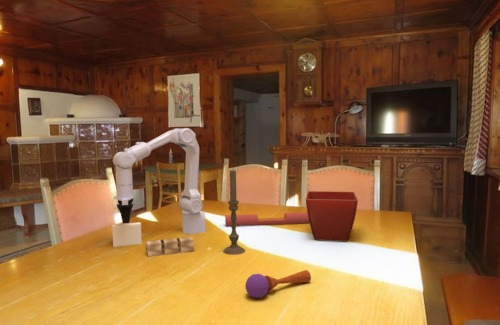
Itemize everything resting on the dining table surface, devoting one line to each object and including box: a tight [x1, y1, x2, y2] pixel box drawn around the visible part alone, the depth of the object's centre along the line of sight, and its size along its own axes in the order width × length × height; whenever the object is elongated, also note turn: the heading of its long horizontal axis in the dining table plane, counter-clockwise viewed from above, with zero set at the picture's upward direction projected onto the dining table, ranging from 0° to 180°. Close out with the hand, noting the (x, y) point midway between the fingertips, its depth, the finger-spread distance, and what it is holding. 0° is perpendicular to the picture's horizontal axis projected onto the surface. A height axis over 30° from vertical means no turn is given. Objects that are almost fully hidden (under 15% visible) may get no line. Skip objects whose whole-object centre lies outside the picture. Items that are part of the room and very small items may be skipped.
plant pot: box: [305, 190, 359, 242], centre depth 145 cm, size 19×19×17 cm
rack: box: [145, 236, 195, 258], centre depth 131 cm, size 16×14×2 cm
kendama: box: [244, 269, 312, 299], centre depth 98 cm, size 6×6×20 cm
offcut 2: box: [178, 236, 195, 253], centre depth 128 cm, size 4×4×4 cm
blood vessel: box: [224, 212, 310, 227], centre depth 166 cm, size 42×5×5 cm, turn 96°
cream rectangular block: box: [111, 222, 143, 248], centre depth 136 cm, size 10×3×8 cm, turn 108°
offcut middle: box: [163, 237, 179, 255], centre depth 127 cm, size 4×4×4 cm
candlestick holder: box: [222, 169, 246, 256], centre depth 125 cm, size 9×9×30 cm
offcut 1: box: [146, 239, 163, 257], centre depth 125 cm, size 4×4×4 cm
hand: (126, 220), depth 135 cm, fingers open, 7 cm apart
